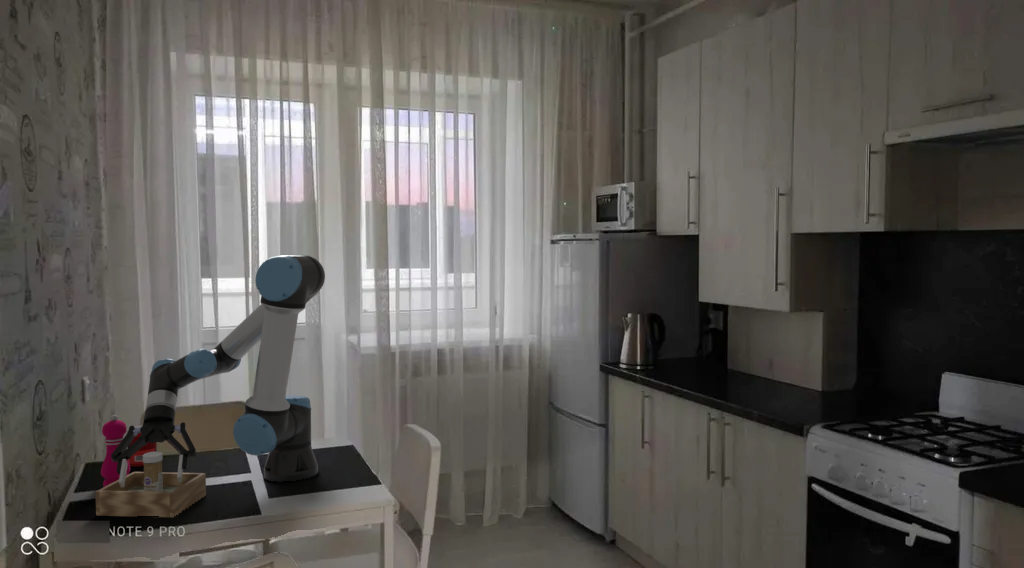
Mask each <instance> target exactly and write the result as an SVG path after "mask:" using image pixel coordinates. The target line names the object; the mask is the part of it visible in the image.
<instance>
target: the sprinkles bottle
mask: <svg viewBox="0 0 1024 568" xmlns="http://www.w3.org/2000/svg"><path fill="white" fill-rule="evenodd" d="M163 456H164V455H163V452H161V451H157V452H148V453H145V454H144V455H143V462H144V466H143V472H144V491H153V492H163V474H162V472H163V458H164V457H163Z"/></svg>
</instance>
